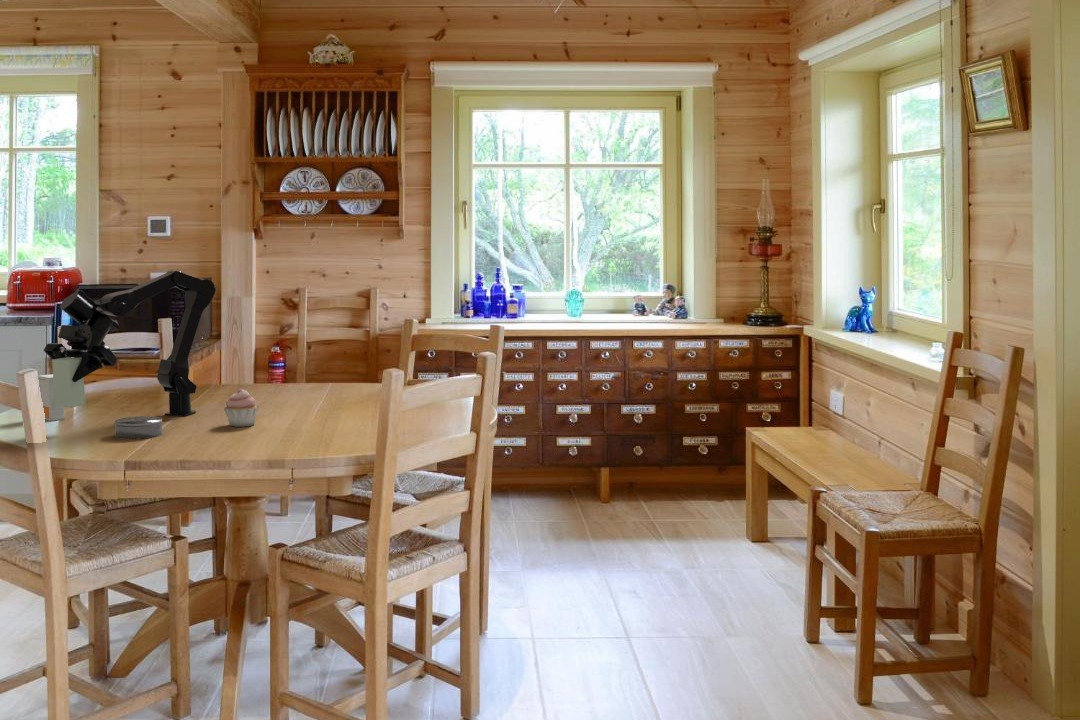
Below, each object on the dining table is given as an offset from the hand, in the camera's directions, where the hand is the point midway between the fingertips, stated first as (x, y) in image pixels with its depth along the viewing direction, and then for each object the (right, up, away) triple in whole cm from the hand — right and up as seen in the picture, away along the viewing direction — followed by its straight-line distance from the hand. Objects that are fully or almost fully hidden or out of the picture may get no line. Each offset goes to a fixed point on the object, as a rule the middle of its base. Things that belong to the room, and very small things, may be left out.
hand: (64, 380), depth 255 cm
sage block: (0, -6, +2) cm, 7 cm away
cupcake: (+40, -12, +15) cm, 45 cm away
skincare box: (-13, -11, +21) cm, 27 cm away
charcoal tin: (+19, -14, 0) cm, 23 cm away
